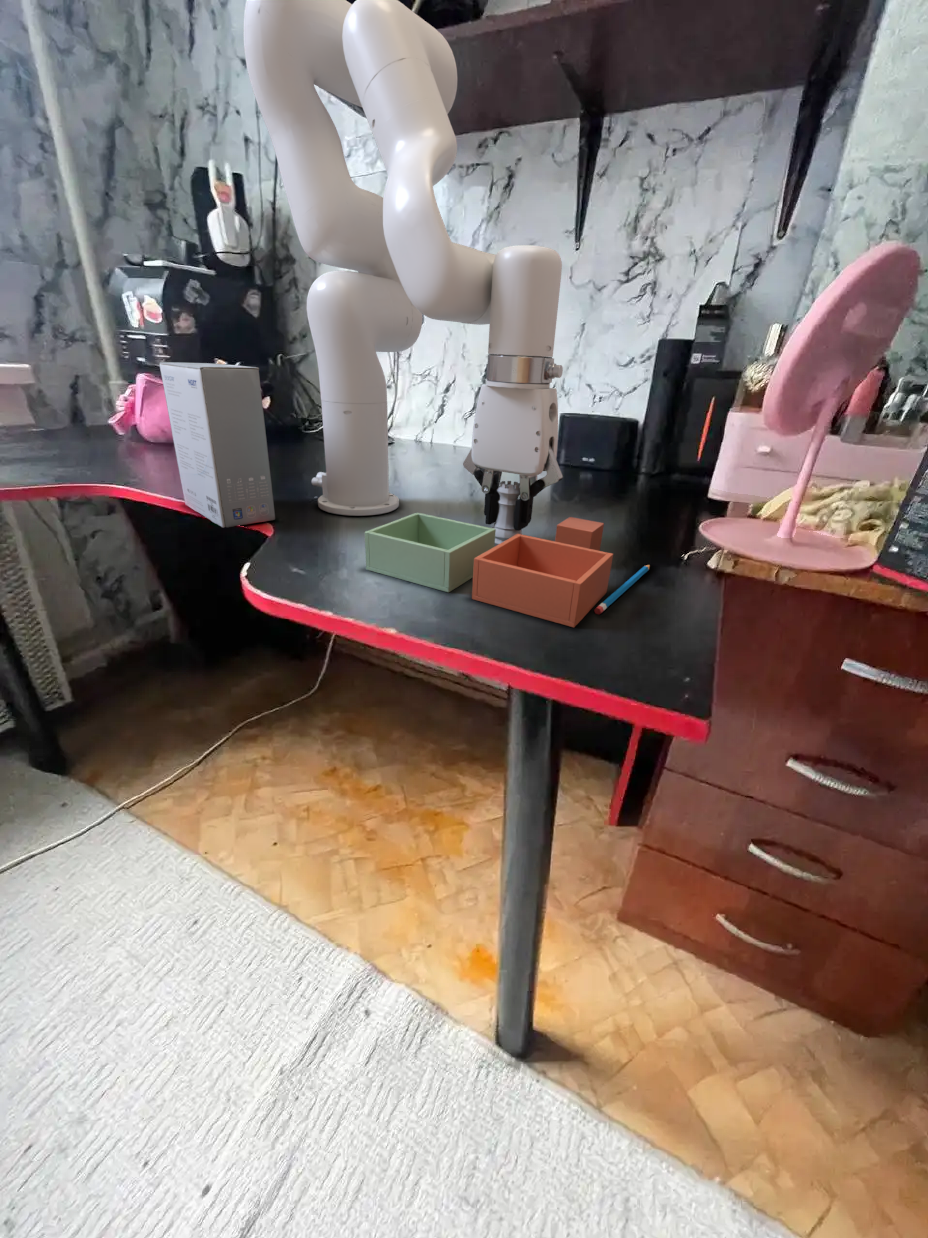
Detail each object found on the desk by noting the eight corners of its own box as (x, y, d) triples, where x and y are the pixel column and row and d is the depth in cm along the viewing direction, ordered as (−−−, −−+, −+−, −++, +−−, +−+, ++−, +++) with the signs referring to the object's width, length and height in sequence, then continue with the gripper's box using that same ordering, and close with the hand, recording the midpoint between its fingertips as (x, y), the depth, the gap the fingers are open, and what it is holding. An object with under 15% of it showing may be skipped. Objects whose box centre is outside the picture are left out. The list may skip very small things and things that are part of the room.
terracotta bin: (471, 599, 57) (473, 558, 55) (514, 570, 65) (517, 533, 63) (574, 627, 52) (580, 584, 50) (606, 592, 60) (613, 553, 58)
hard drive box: (277, 521, 78) (260, 367, 69) (223, 530, 73) (198, 366, 64) (233, 498, 88) (213, 361, 79) (182, 505, 83) (155, 360, 74)
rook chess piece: (520, 549, 71) (525, 488, 68) (486, 546, 72) (490, 485, 68) (523, 539, 75) (529, 480, 72) (491, 536, 76) (495, 477, 72)
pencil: (593, 613, 55) (594, 607, 55) (646, 566, 68) (647, 561, 67) (600, 615, 55) (602, 609, 54) (652, 568, 67) (653, 563, 67)
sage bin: (365, 569, 63) (364, 531, 61) (416, 546, 71) (417, 512, 69) (448, 592, 58) (450, 552, 56) (493, 565, 66) (495, 528, 64)
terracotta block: (552, 559, 68) (556, 524, 66) (565, 550, 72) (570, 516, 70) (587, 567, 66) (592, 531, 64) (598, 557, 70) (604, 523, 68)
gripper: (596, 377, 64) (575, 530, 72) (473, 369, 71) (467, 508, 79) (574, 378, 58) (554, 544, 66) (442, 369, 65) (438, 520, 73)
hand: (506, 523), depth 72 cm, fingers closed on rook chess piece, 3 cm apart
